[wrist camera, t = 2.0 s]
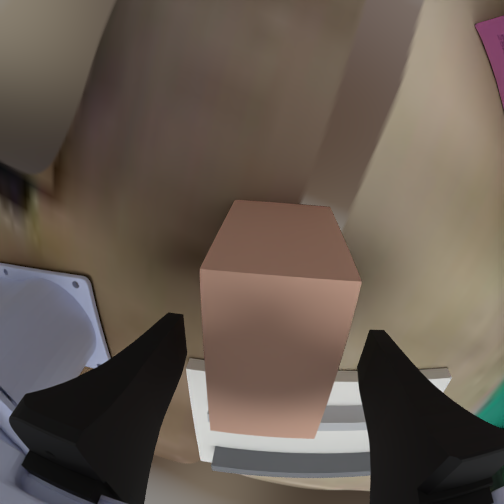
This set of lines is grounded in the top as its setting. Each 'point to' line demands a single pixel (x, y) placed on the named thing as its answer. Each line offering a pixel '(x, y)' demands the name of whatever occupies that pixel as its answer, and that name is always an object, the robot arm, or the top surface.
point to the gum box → (494, 47)
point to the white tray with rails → (294, 449)
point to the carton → (275, 317)
